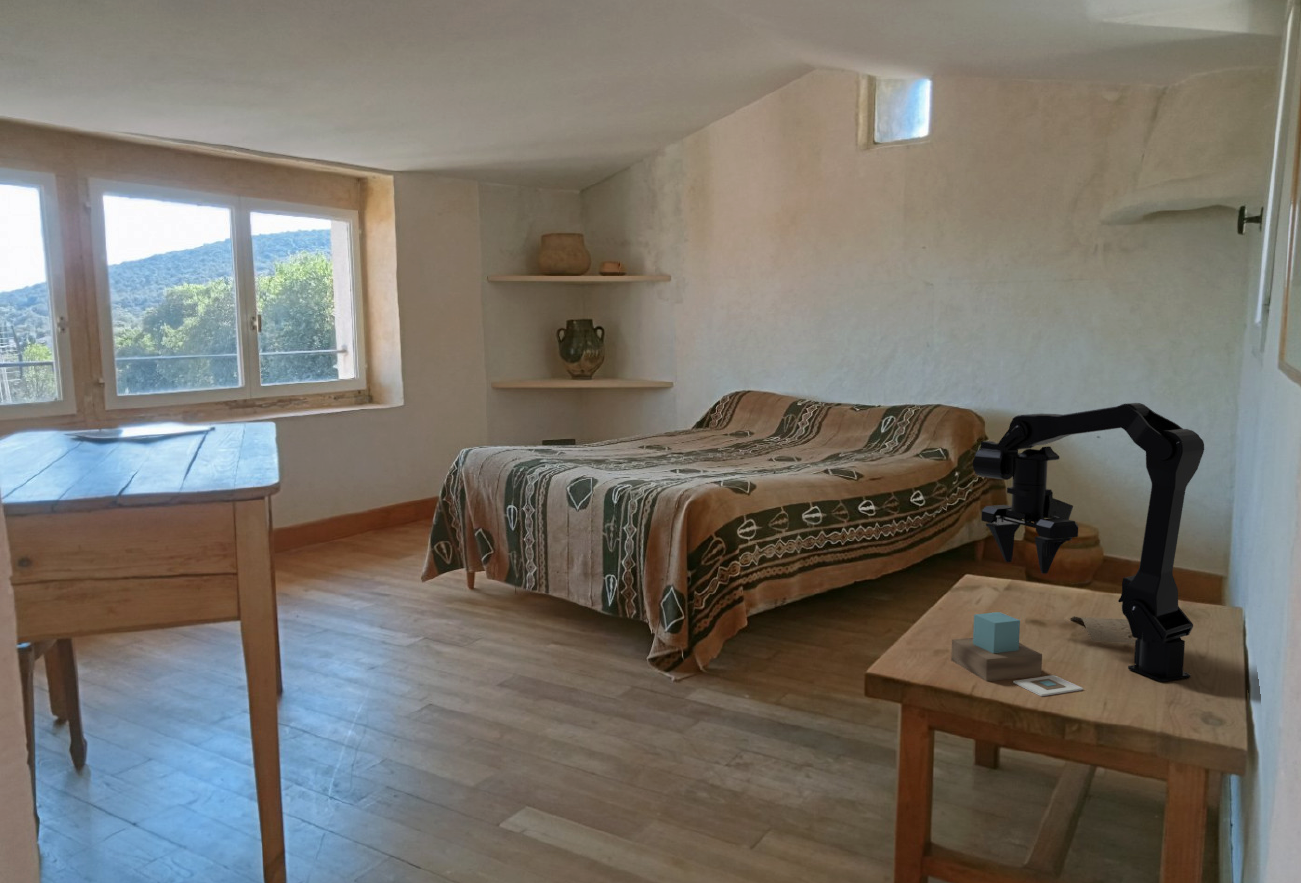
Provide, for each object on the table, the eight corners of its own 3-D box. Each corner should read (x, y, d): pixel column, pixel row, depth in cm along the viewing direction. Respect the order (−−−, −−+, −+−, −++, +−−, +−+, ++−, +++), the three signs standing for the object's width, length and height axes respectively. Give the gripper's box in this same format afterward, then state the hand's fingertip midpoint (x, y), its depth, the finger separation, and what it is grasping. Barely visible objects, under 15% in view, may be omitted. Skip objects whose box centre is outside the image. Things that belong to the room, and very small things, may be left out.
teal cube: (1018, 650, 149) (1020, 620, 148) (993, 653, 147) (994, 623, 147) (997, 641, 153) (998, 612, 153) (972, 644, 152) (974, 614, 151)
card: (1082, 689, 141) (1083, 686, 141) (1041, 696, 138) (1041, 693, 138) (1053, 676, 147) (1054, 673, 147) (1013, 682, 144) (1013, 679, 144)
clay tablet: (1067, 622, 178) (1068, 608, 178) (1122, 624, 176) (1123, 610, 176) (1092, 646, 164) (1093, 631, 163) (1153, 649, 162) (1154, 634, 162)
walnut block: (1041, 678, 147) (1042, 654, 147) (986, 683, 145) (986, 659, 144) (1003, 657, 157) (1004, 635, 156) (951, 662, 155) (951, 639, 154)
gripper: (1105, 488, 160) (1100, 575, 161) (1028, 474, 177) (1025, 553, 179) (1054, 491, 156) (1050, 581, 157) (980, 477, 173) (978, 557, 175)
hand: (1025, 567), depth 167 cm, fingers open, 9 cm apart
